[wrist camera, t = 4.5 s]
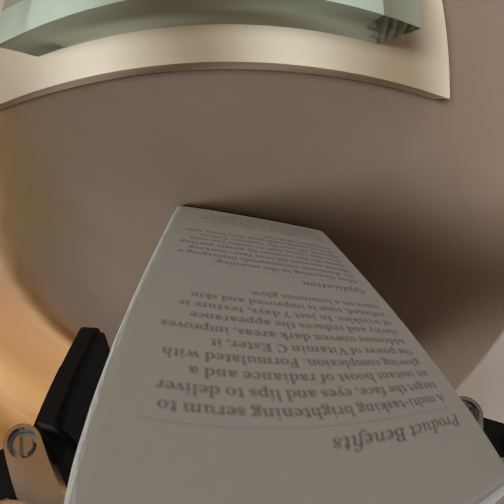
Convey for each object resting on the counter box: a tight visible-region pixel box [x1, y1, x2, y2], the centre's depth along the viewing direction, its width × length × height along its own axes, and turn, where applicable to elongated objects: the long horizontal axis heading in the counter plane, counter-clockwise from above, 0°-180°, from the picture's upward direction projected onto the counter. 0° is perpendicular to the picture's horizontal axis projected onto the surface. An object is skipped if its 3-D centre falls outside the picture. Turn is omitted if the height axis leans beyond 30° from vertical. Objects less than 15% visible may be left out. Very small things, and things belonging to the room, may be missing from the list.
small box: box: [64, 206, 504, 504], centre depth 7 cm, size 8×6×10 cm
